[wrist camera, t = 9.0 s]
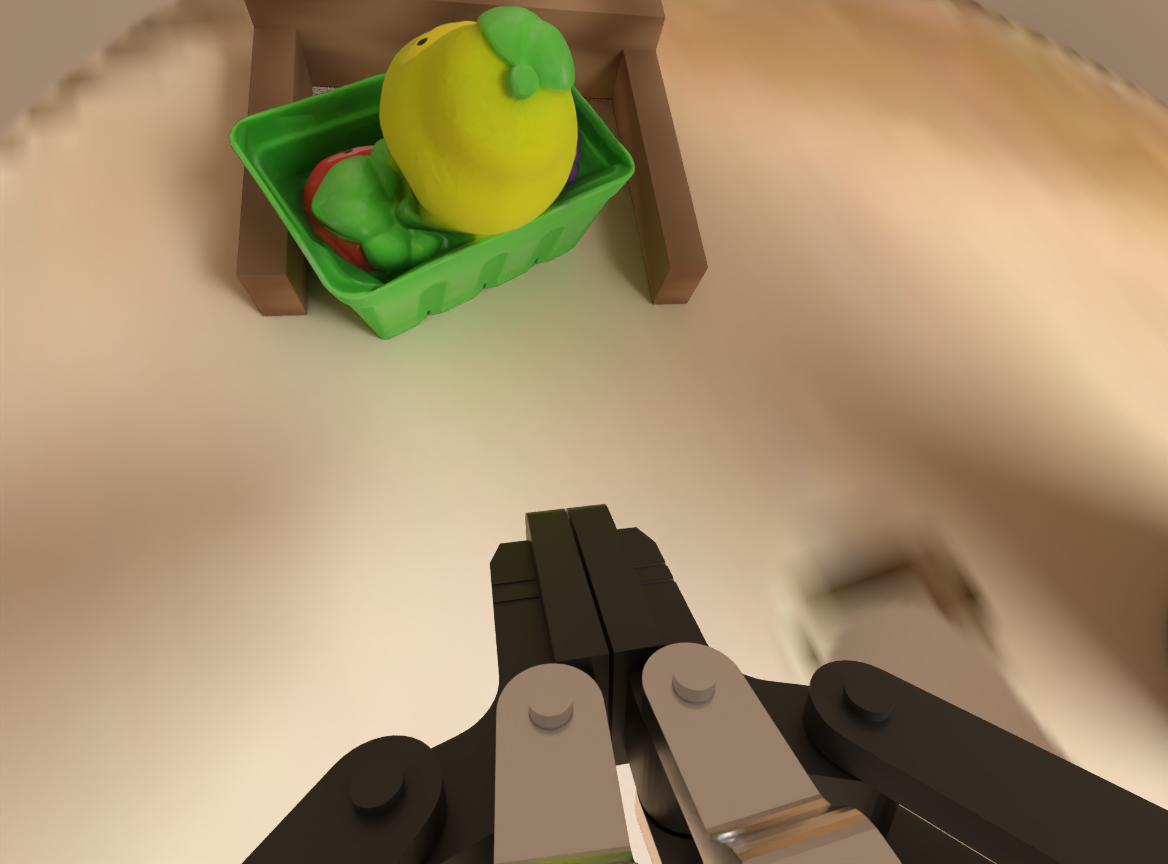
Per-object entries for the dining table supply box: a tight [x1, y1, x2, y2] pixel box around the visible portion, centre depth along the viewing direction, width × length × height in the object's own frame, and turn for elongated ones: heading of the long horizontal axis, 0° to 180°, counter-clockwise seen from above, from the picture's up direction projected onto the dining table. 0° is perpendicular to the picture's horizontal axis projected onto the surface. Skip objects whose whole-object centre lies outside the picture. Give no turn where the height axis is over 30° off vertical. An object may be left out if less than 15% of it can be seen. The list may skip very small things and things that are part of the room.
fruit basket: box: [229, 6, 635, 339], centre depth 18 cm, size 11×9×11 cm
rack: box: [237, 0, 708, 316], centre depth 23 cm, size 16×14×4 cm
